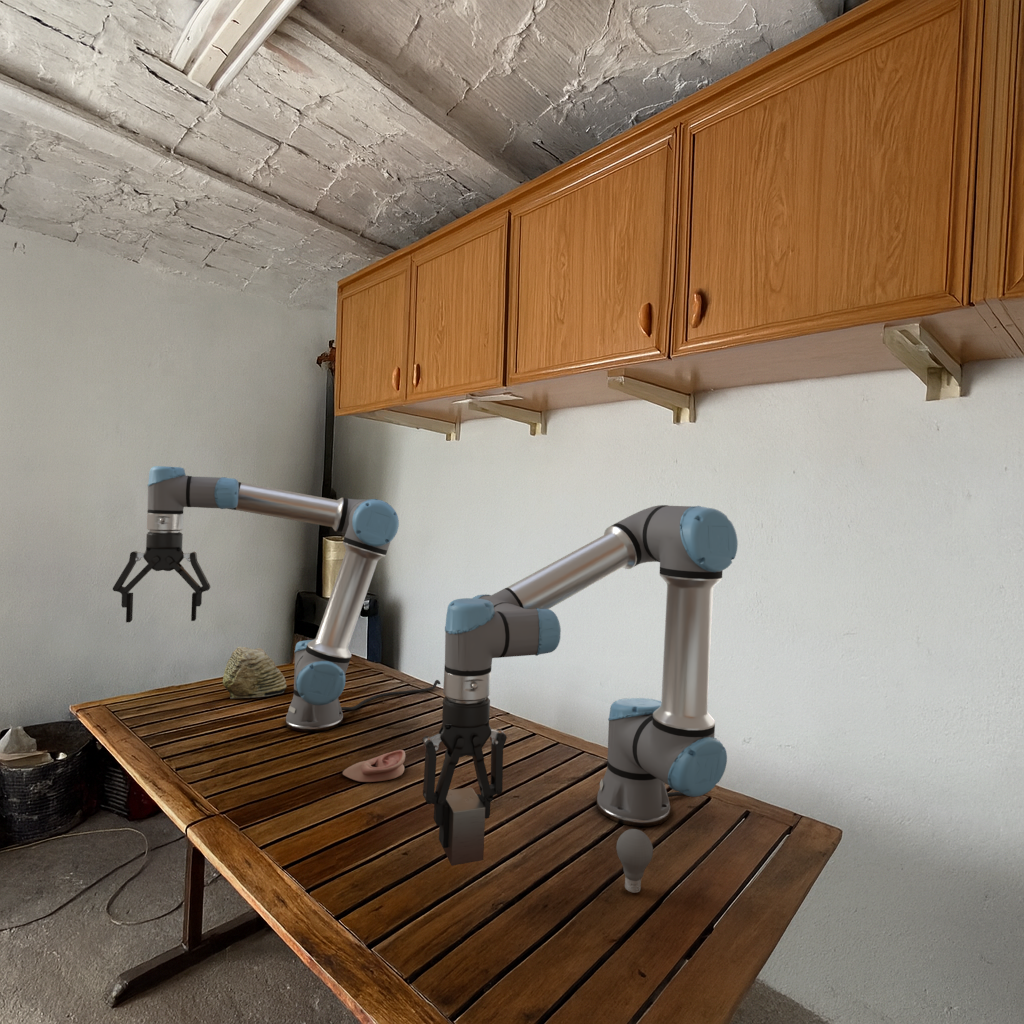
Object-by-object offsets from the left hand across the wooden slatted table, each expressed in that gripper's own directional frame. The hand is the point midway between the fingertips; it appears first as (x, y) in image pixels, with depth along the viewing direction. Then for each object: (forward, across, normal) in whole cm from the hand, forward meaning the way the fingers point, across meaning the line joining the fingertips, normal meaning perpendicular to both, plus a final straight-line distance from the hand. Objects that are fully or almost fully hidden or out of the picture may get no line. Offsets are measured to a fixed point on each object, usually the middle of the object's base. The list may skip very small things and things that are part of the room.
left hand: (161, 620), depth 151 cm
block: (+24, +55, -72) cm, 94 cm away
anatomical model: (+32, +48, -22) cm, 62 cm away
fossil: (+32, +20, +43) cm, 57 cm away
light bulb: (+32, +83, -78) cm, 119 cm away
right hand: (+23, +55, -72) cm, 94 cm away
